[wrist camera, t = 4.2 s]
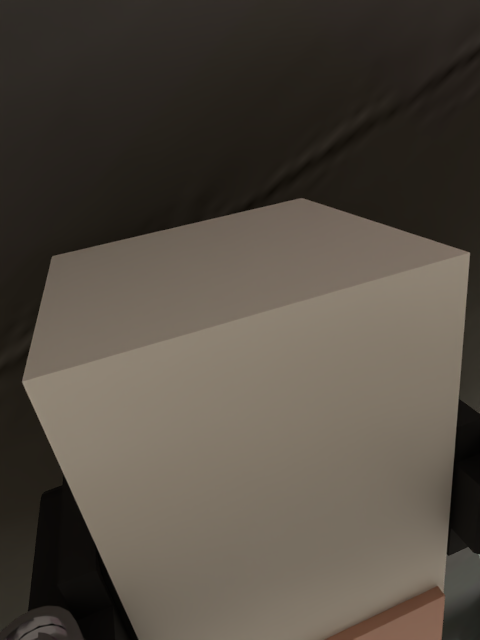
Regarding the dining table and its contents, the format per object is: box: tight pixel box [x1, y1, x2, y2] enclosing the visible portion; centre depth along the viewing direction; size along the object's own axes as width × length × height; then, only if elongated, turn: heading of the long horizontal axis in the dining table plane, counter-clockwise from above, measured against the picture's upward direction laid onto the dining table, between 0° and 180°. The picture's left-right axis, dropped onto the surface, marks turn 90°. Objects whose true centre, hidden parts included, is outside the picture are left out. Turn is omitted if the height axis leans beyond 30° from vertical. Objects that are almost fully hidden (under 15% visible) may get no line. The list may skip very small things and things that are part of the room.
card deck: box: [22, 198, 470, 640], centre depth 9 cm, size 6×9×5 cm, turn 9°
